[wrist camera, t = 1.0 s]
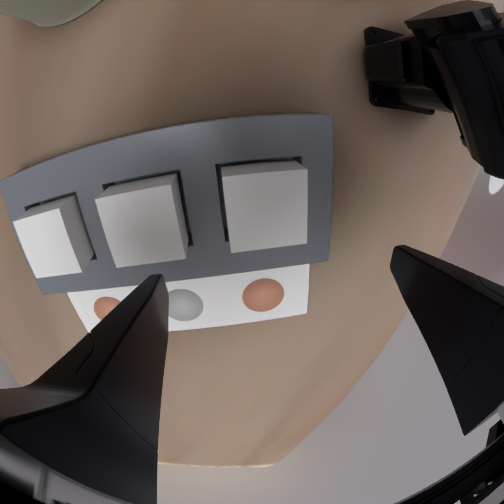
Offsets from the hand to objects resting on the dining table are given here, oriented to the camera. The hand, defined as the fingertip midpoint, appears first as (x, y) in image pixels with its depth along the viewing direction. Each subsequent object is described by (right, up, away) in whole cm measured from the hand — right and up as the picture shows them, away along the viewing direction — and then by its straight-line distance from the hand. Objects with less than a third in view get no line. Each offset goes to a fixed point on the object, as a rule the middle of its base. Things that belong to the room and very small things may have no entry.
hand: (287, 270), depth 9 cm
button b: (-1, +4, +7) cm, 8 cm away
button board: (-8, +4, +9) cm, 13 cm away
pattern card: (-7, -4, +14) cm, 16 cm away
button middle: (-8, +3, +7) cm, 11 cm away
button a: (-15, +2, +6) cm, 16 cm away
